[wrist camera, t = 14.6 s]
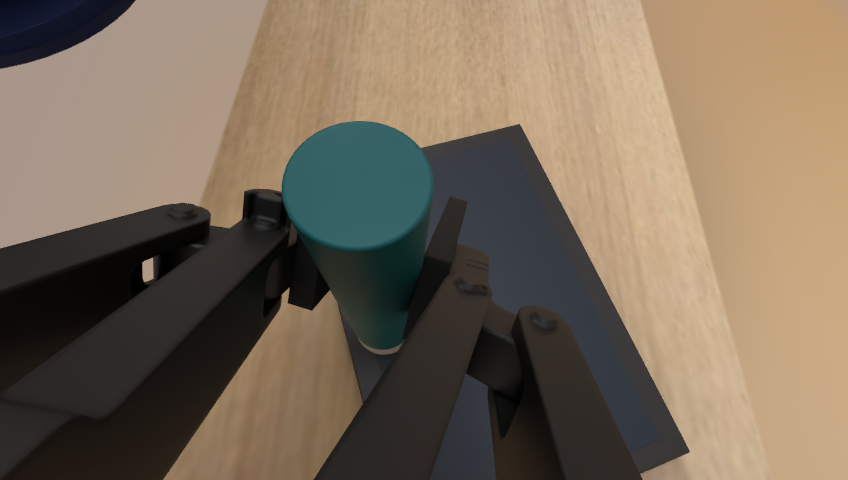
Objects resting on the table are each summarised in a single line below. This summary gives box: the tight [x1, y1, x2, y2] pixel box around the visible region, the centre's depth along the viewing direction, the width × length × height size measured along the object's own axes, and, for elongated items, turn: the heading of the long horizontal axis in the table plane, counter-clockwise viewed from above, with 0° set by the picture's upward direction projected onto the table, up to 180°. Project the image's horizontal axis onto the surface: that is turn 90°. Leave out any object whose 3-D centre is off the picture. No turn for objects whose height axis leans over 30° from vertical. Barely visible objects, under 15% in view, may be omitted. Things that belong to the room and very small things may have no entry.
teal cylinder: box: [282, 121, 434, 355], centre depth 13 cm, size 3×3×13 cm
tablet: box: [338, 124, 690, 480], centre depth 22 cm, size 20×14×1 cm
